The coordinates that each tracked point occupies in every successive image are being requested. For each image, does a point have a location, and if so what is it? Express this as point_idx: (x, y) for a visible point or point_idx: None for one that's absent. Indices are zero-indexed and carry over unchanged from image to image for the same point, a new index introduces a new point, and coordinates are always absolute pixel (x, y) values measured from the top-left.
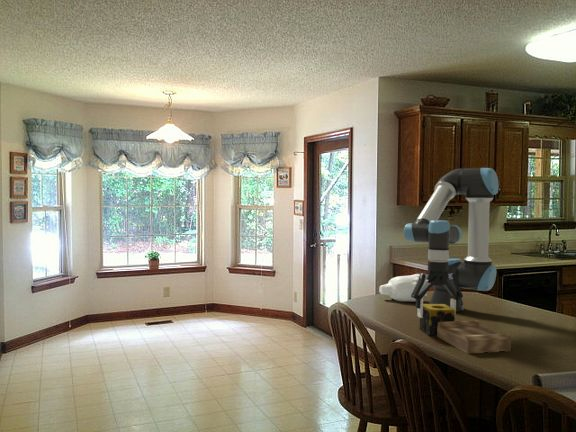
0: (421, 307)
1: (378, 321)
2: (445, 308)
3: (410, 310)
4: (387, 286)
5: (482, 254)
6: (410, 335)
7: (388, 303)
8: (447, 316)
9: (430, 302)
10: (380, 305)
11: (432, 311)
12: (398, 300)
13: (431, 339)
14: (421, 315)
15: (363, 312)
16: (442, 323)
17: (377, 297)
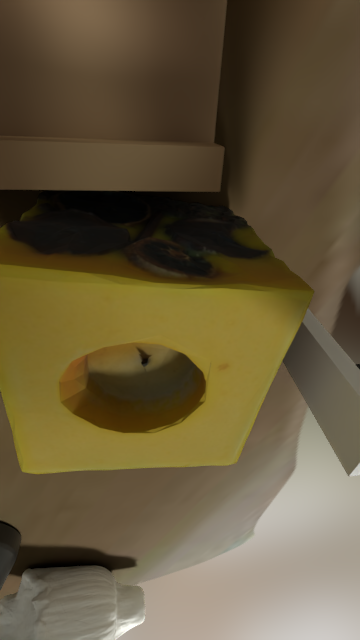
0: (348, 363)
1: (290, 428)
2: (83, 340)
3: (103, 517)
4: (129, 619)
5: None
6: (325, 236)
7: (138, 550)
8: (93, 241)
9: (14, 562)
10: (171, 538)
11: (281, 279)
12: (100, 567)
13: (269, 114)
14: (306, 315)
15: (263, 493)
16: (192, 145)
17: (140, 575)
